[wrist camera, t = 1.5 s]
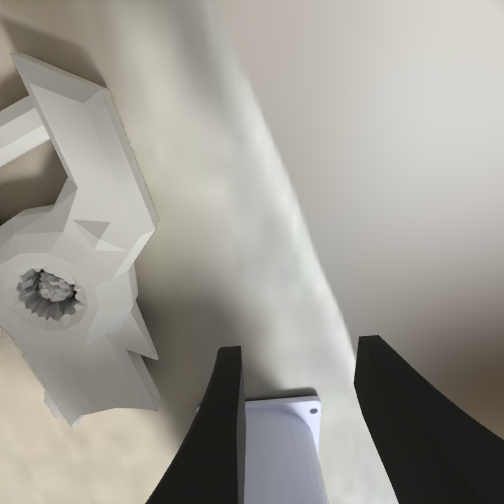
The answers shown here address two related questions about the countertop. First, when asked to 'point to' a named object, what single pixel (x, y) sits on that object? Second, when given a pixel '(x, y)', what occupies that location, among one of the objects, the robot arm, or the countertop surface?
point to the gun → (77, 249)
